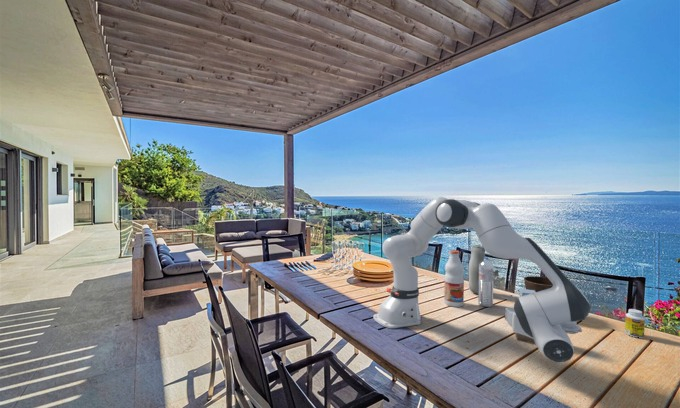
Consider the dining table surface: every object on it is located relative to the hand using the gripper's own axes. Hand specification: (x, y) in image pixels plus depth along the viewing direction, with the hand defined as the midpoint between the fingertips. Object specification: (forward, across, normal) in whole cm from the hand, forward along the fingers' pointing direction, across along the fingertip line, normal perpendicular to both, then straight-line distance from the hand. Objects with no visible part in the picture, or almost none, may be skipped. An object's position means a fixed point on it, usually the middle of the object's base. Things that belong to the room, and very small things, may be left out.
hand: (534, 311), depth 106 cm
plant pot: (+42, -11, +15) cm, 46 cm away
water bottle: (+43, +13, +15) cm, 47 cm away
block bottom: (+12, 0, +15) cm, 19 cm away
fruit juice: (+38, +28, +15) cm, 50 cm away
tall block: (+12, 0, +6) cm, 13 cm away
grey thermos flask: (+61, +16, +15) cm, 65 cm away
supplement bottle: (+30, -40, +16) cm, 53 cm away
